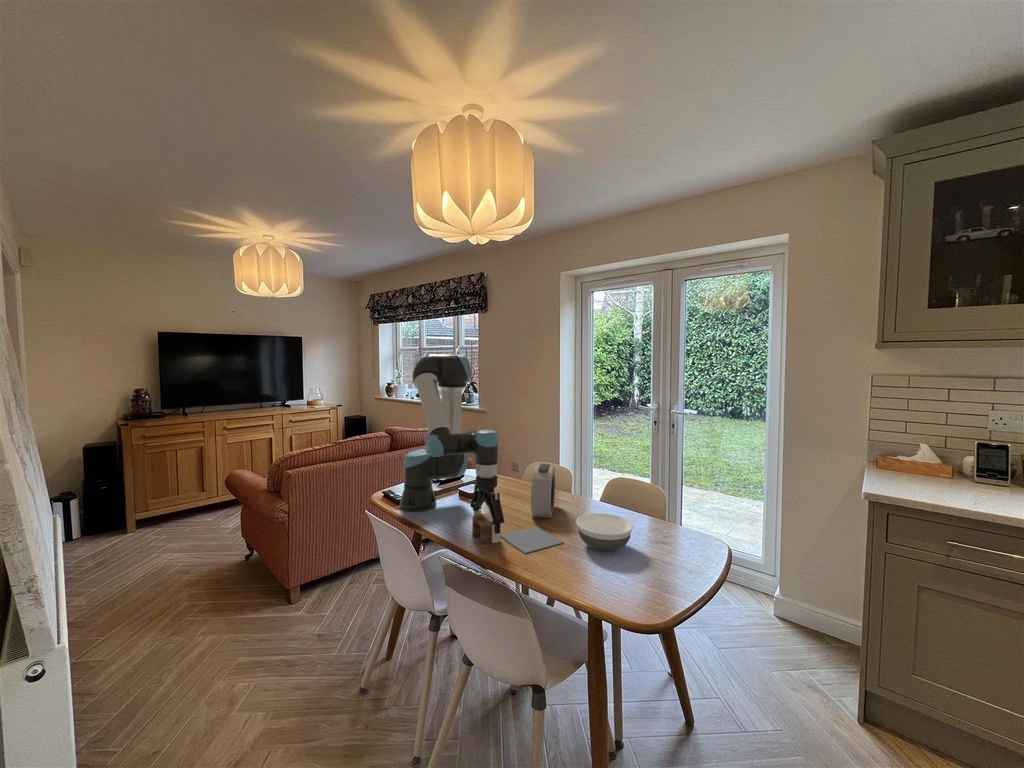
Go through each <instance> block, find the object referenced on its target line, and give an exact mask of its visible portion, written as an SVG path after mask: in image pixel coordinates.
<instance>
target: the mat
mask: <svg viewBox="0 0 1024 768" xmlns="http://www.w3.org/2000/svg"><path fill="white" fill-rule="evenodd" d="M500 538H502V539H503V540H504V541H505V542H507V543H508V544H510V545H512V546H513V547H514V548H515V549H516V550H518V551H519V552H521V553H523V554H524V555H526V554H531V553H534V552H537V551H541V550H544V549H548V548H552V547H555V546H559V545H562V544H564V541H563V540H561V539H560V538H558V537H556V536H554V535H552V534H550V533H549V532H547V531H546V530H544V529H542V528H541V527H539V526H532V527H528V528H525V529H520V530H516V531H512V532H508V533H503V534H500Z"/></svg>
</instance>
